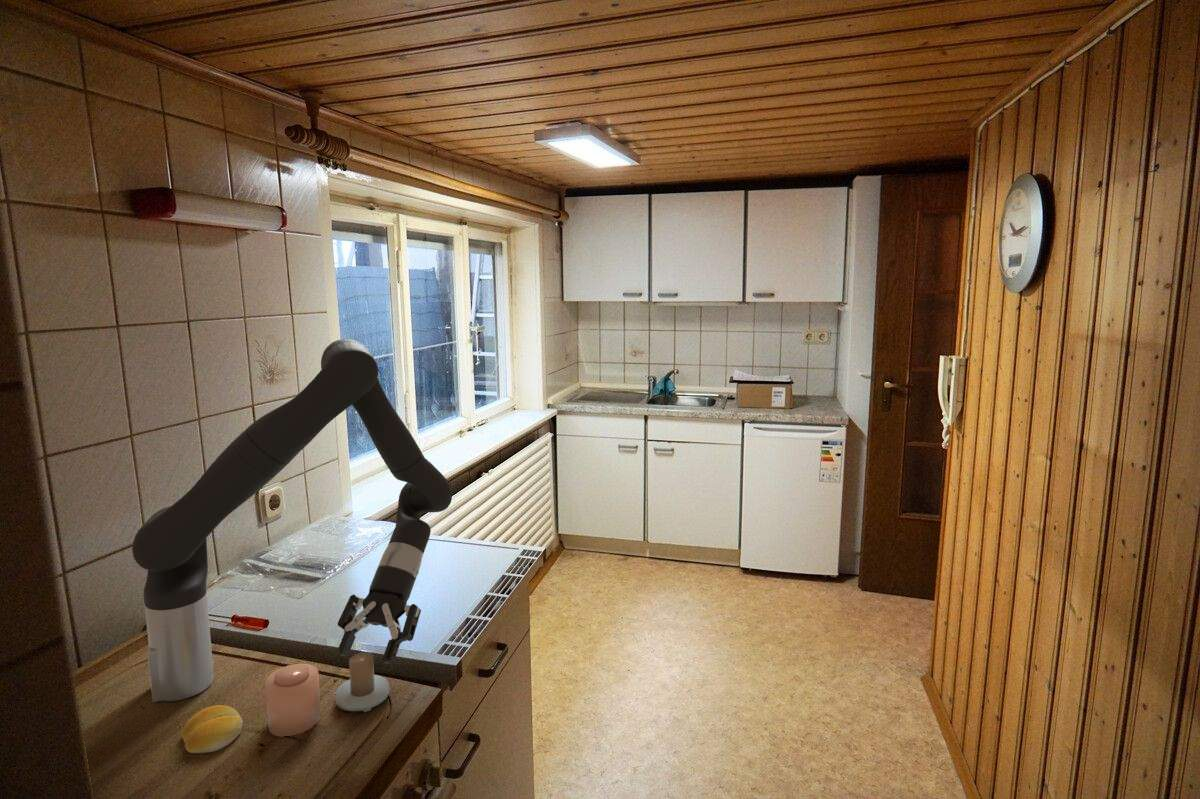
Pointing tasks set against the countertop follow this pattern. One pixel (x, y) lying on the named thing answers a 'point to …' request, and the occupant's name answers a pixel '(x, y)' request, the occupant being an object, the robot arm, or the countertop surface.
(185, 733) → the bread roll
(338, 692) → the lid
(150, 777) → the countertop surface
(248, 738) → the countertop surface
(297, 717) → the canister
